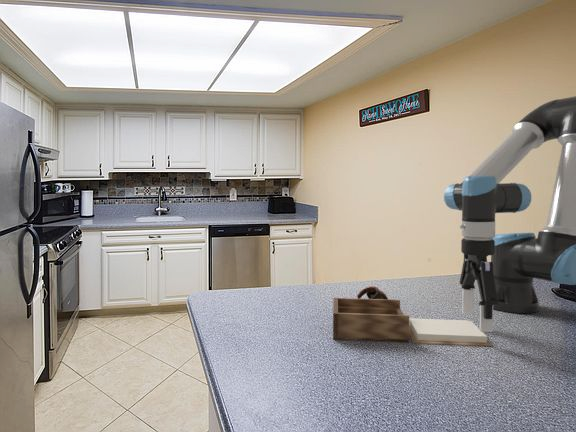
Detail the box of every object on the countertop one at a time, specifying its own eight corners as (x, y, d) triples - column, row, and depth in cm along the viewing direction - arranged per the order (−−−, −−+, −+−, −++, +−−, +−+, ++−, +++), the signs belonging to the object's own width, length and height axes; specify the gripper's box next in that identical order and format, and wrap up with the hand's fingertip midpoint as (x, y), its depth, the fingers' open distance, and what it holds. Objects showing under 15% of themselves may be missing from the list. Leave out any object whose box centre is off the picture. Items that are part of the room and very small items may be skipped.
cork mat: (471, 325, 111) (471, 324, 111) (492, 346, 96) (492, 345, 96) (402, 322, 113) (402, 321, 113) (413, 343, 98) (413, 342, 98)
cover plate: (470, 325, 110) (470, 320, 110) (486, 342, 98) (487, 336, 98) (408, 323, 112) (408, 318, 112) (417, 339, 100) (417, 333, 100)
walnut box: (399, 323, 113) (399, 299, 113) (408, 342, 99) (409, 316, 98) (333, 320, 115) (333, 297, 115) (333, 339, 101) (333, 313, 100)
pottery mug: (396, 316, 120) (384, 294, 118) (366, 329, 122) (354, 307, 120) (387, 296, 132) (377, 275, 130) (360, 307, 134) (350, 287, 131)
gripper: (448, 232, 115) (447, 307, 117) (479, 245, 90) (477, 339, 92) (476, 232, 114) (475, 307, 116) (515, 245, 90) (513, 340, 91)
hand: (476, 322), depth 104 cm, fingers open, 13 cm apart
